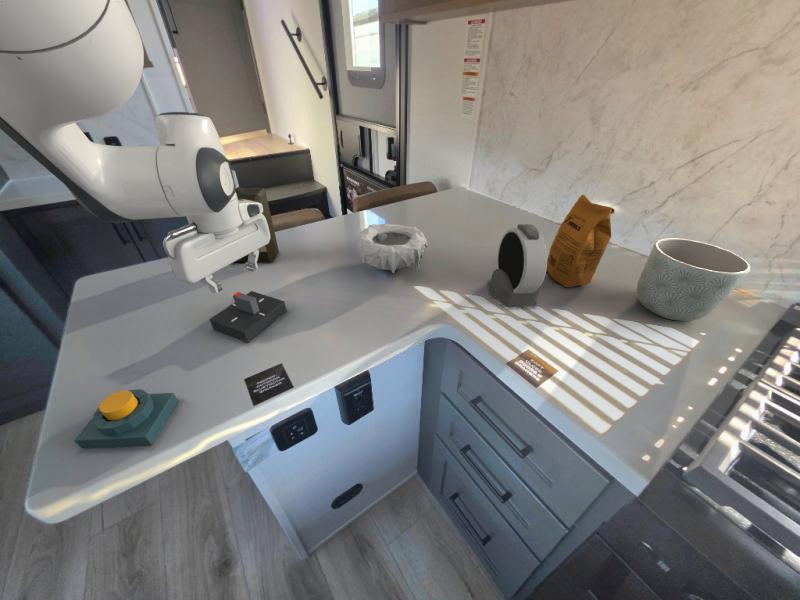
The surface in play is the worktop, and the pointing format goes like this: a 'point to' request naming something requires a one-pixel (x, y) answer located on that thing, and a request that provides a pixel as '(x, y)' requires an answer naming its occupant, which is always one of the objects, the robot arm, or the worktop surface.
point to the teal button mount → (130, 423)
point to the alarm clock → (519, 266)
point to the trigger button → (118, 405)
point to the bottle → (259, 195)
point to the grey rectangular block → (246, 303)
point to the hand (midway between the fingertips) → (235, 279)
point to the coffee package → (580, 243)
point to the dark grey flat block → (248, 318)
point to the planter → (688, 278)
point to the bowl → (391, 246)
